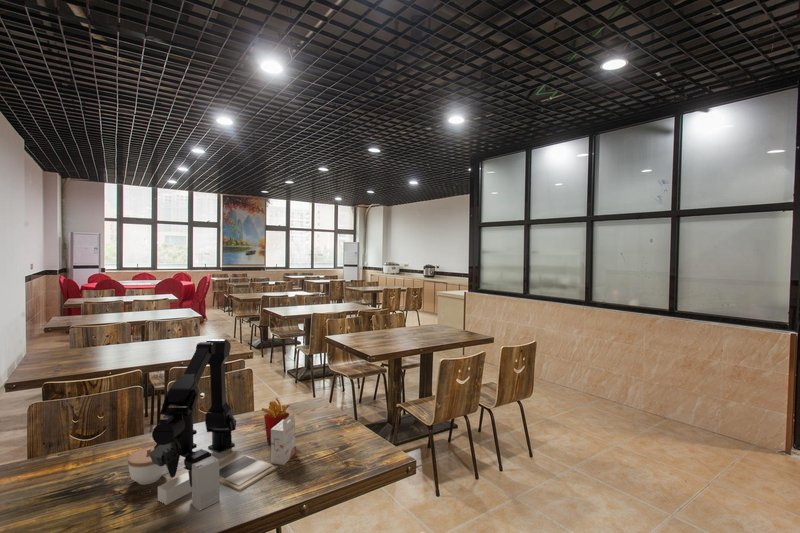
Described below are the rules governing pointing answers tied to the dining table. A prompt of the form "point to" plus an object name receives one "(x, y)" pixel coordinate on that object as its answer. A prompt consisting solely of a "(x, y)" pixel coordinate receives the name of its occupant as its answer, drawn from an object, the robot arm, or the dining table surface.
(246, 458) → the picture frame
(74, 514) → the dining table surface
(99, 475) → the dining table surface
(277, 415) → the french fries
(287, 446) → the ink cartridge box
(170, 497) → the tall cream pillar
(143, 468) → the lidded jar
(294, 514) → the dining table surface
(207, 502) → the skincare box
